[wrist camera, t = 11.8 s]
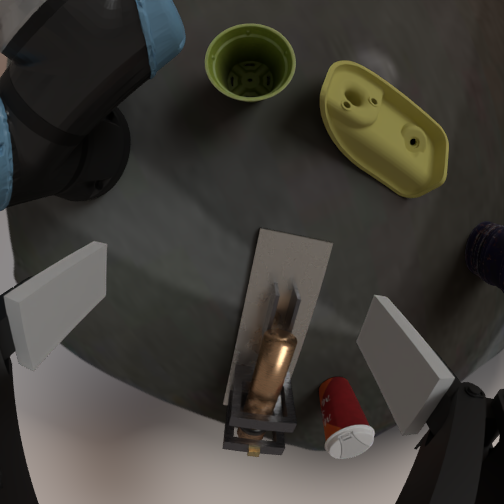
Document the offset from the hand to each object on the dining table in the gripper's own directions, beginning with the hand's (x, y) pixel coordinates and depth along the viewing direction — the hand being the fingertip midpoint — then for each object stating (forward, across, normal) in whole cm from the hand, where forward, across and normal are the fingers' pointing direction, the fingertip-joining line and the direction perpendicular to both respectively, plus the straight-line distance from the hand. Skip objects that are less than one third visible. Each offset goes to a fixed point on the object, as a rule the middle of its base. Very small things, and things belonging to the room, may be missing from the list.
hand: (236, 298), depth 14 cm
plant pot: (+27, -3, +17) cm, 32 cm away
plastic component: (+27, +15, +15) cm, 34 cm away
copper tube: (+22, +7, -24) cm, 33 cm away
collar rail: (+27, +7, -18) cm, 33 cm away
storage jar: (+27, +41, +3) cm, 49 cm away
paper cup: (+27, +21, -27) cm, 44 cm away
